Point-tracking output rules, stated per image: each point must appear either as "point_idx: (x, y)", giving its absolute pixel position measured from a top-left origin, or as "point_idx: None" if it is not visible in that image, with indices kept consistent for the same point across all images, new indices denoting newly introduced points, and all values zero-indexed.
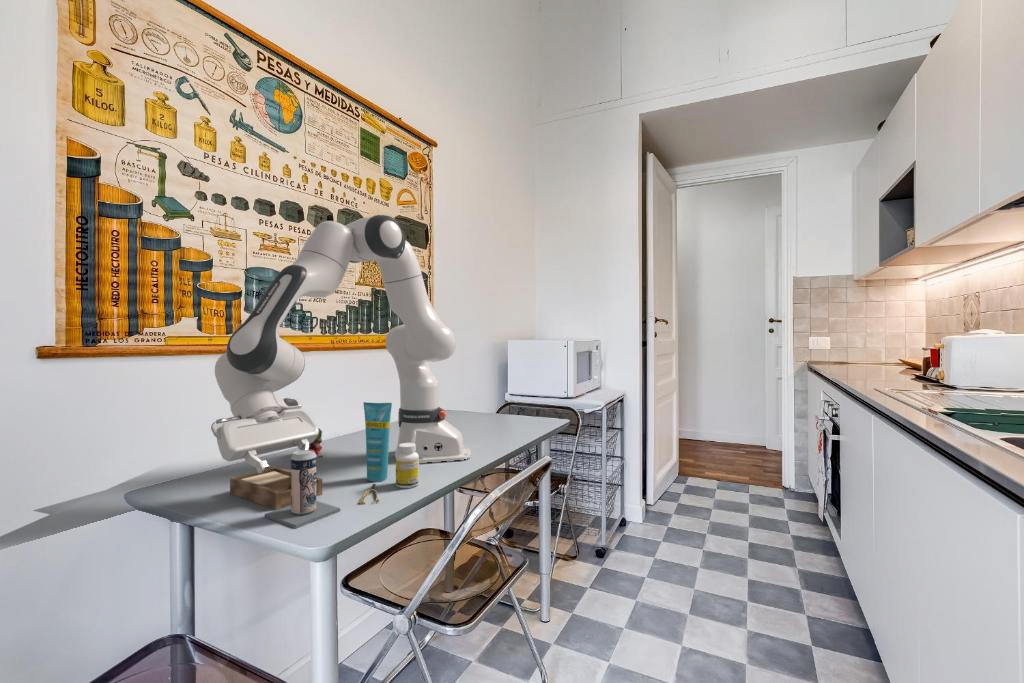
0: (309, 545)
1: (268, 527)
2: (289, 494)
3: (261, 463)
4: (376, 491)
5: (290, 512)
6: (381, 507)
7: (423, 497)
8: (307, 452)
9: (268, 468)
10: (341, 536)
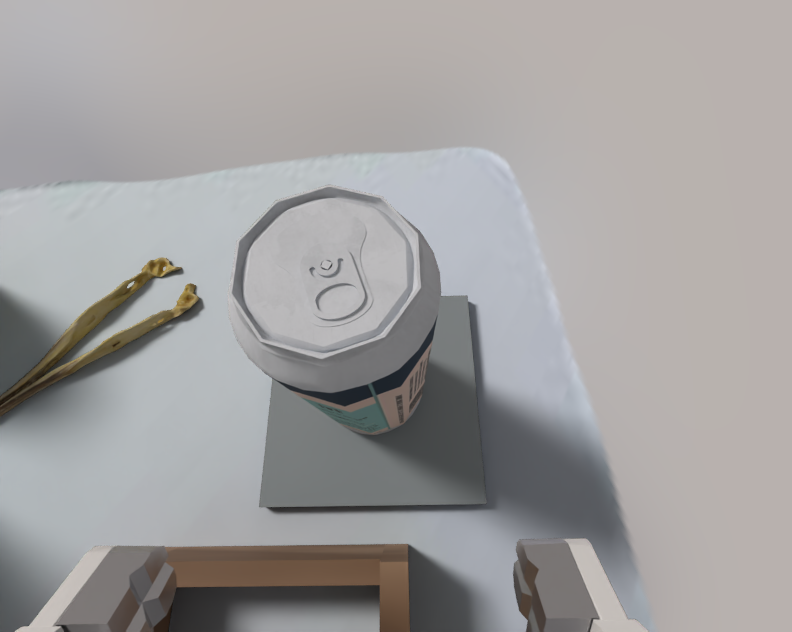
0: (503, 179)
1: (522, 385)
2: (331, 556)
3: (599, 588)
4: (80, 317)
5: (411, 420)
6: (194, 224)
7: (62, 184)
8: (305, 247)
9: (522, 540)
10: (417, 160)
